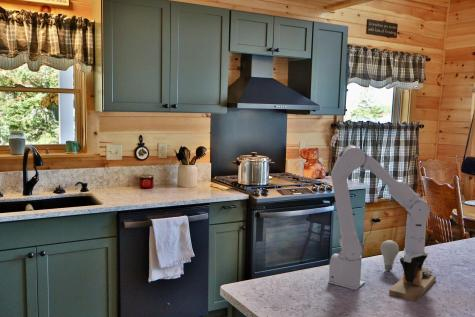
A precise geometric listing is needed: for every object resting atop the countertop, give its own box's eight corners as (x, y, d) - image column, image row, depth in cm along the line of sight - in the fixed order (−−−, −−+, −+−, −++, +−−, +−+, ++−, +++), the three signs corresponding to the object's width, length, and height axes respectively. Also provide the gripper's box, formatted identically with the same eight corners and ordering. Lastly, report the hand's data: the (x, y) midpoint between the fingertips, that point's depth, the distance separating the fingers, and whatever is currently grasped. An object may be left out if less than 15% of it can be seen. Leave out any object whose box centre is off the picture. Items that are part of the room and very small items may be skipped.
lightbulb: (401, 273, 154) (403, 242, 153) (387, 275, 152) (389, 243, 151) (389, 267, 160) (391, 237, 159) (375, 269, 157) (377, 238, 156)
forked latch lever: (402, 282, 141) (403, 267, 140) (416, 269, 153) (417, 255, 153) (419, 286, 138) (420, 271, 137) (432, 272, 150) (433, 258, 150)
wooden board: (388, 294, 136) (389, 289, 136) (410, 274, 153) (410, 270, 153) (416, 301, 131) (416, 296, 131) (435, 280, 148) (435, 275, 148)
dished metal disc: (413, 274, 148) (413, 268, 148) (416, 271, 152) (417, 265, 151) (425, 277, 146) (426, 271, 146) (429, 274, 149) (429, 268, 149)
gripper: (422, 244, 131) (419, 288, 132) (435, 233, 142) (431, 275, 144) (397, 239, 135) (395, 282, 137) (412, 229, 147) (409, 270, 148)
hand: (412, 278), depth 141 cm, fingers open, 6 cm apart
